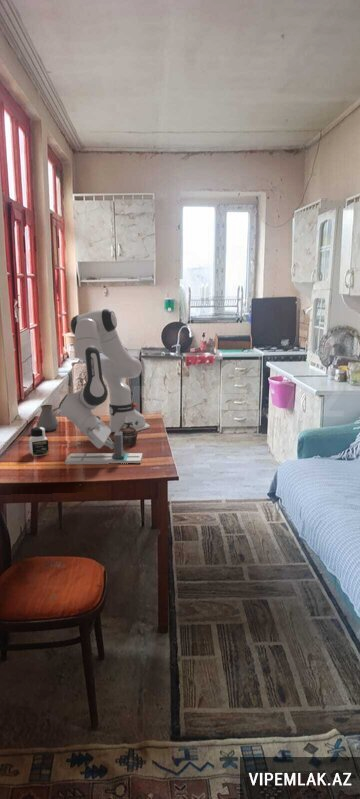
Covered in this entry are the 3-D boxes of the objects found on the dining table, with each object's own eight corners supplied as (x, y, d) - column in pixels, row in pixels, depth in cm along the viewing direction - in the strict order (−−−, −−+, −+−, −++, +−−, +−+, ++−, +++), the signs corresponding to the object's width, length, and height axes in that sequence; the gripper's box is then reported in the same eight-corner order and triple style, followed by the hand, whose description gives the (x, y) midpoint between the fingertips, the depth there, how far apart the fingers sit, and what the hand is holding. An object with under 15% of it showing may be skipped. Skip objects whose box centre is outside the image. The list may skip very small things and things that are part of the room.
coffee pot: (39, 433, 259) (37, 405, 256) (35, 428, 269) (33, 401, 266) (79, 428, 267) (78, 401, 264) (74, 423, 278) (73, 397, 275)
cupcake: (116, 441, 242) (115, 421, 240) (135, 439, 245) (134, 419, 243) (120, 447, 233) (119, 426, 231) (140, 444, 237) (139, 424, 235)
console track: (65, 464, 210) (65, 460, 210) (70, 456, 220) (70, 453, 219) (140, 463, 209) (140, 460, 209) (142, 456, 219) (142, 452, 219)
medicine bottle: (33, 456, 220) (31, 430, 218) (29, 452, 226) (27, 427, 224) (49, 454, 223) (47, 428, 221) (45, 450, 230) (43, 425, 227)
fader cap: (112, 458, 211) (111, 435, 209) (114, 453, 218) (113, 431, 215) (123, 458, 211) (123, 435, 209) (125, 453, 217) (125, 431, 215)
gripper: (90, 426, 201) (115, 449, 203) (99, 414, 221) (121, 435, 223) (80, 437, 202) (104, 460, 204) (89, 424, 222) (112, 445, 224)
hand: (113, 447), depth 213 cm, fingers closed, pressing on fader cap
